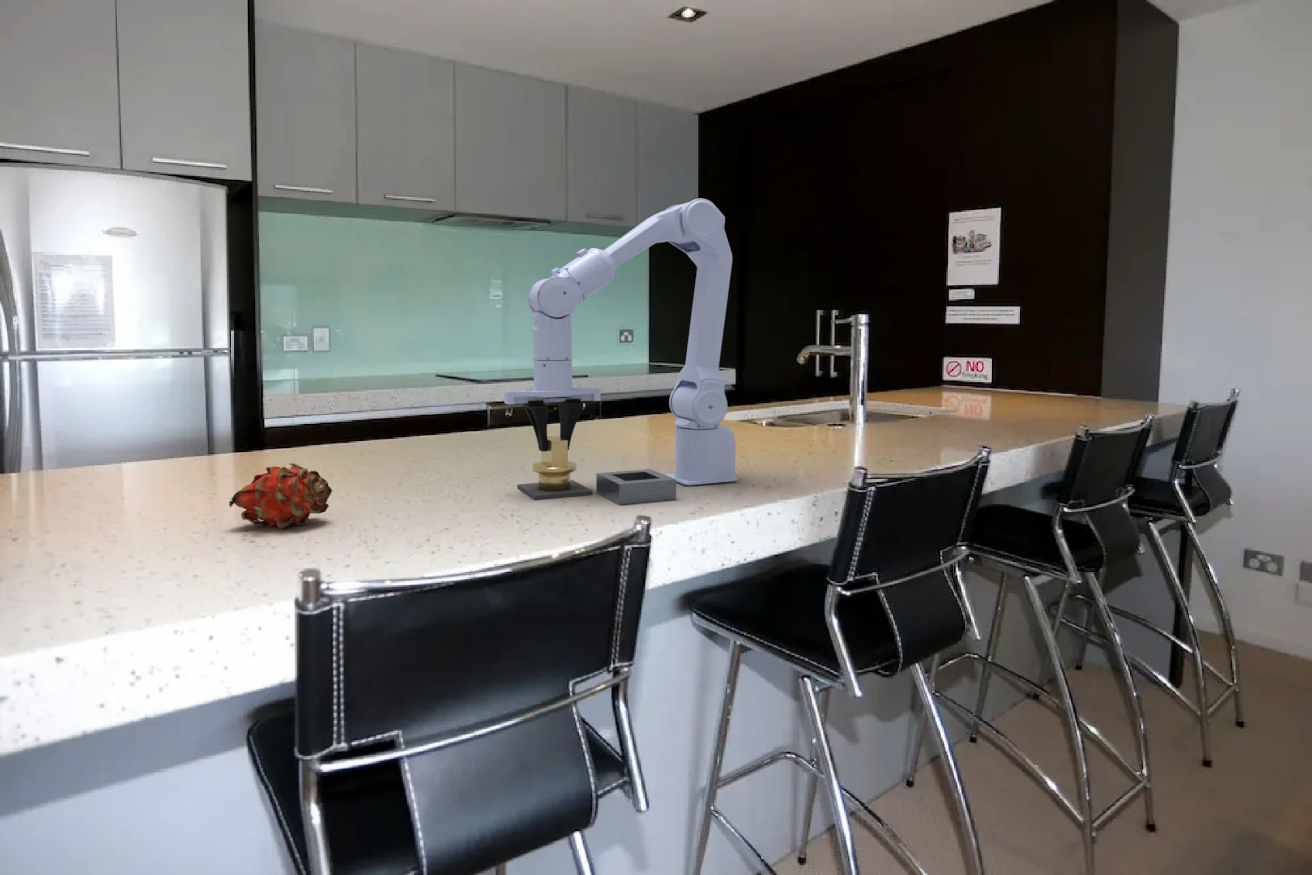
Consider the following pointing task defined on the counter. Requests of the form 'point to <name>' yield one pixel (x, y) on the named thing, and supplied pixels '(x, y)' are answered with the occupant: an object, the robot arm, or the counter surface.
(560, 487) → the end cover
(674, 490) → the housing
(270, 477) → the dragon fruit
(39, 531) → the counter surface
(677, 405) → the robot arm
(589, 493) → the mat
